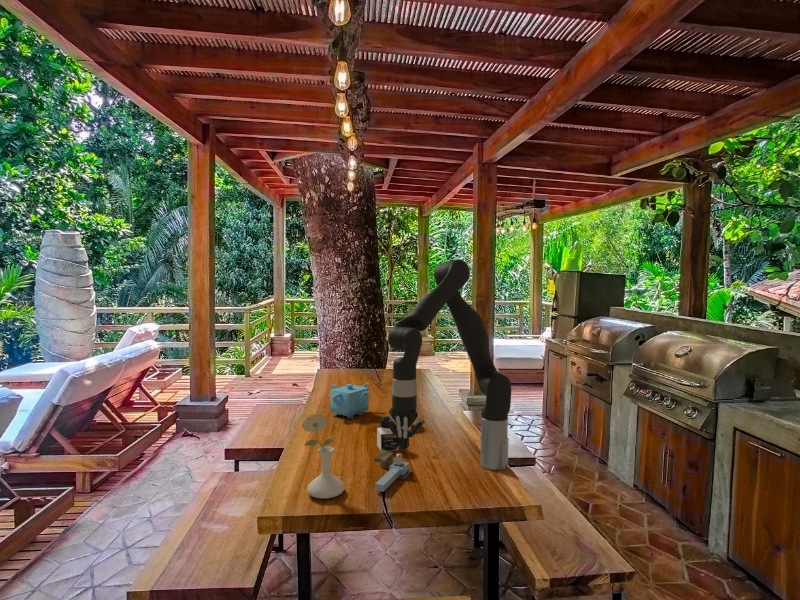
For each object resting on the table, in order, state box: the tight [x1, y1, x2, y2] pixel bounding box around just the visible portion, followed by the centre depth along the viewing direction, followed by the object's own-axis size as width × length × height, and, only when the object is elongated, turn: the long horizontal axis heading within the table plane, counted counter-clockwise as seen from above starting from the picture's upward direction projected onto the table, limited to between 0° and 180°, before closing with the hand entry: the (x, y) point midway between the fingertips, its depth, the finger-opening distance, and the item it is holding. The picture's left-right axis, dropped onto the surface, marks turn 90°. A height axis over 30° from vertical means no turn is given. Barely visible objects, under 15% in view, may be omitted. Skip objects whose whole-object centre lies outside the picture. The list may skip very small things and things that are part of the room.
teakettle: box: [330, 382, 370, 420], centre depth 222 cm, size 19×19×15 cm
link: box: [374, 460, 410, 492], centre depth 150 cm, size 18×5×2 cm, turn 158°
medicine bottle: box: [376, 415, 400, 453], centre depth 179 cm, size 7×7×12 cm
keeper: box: [373, 451, 394, 470], centre depth 159 cm, size 4×7×5 cm, turn 157°
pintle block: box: [395, 452, 413, 481], centre depth 156 cm, size 7×7×7 cm
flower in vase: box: [301, 413, 345, 499], centre depth 142 cm, size 13×11×25 cm
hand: (403, 449), depth 141 cm, fingers closed
